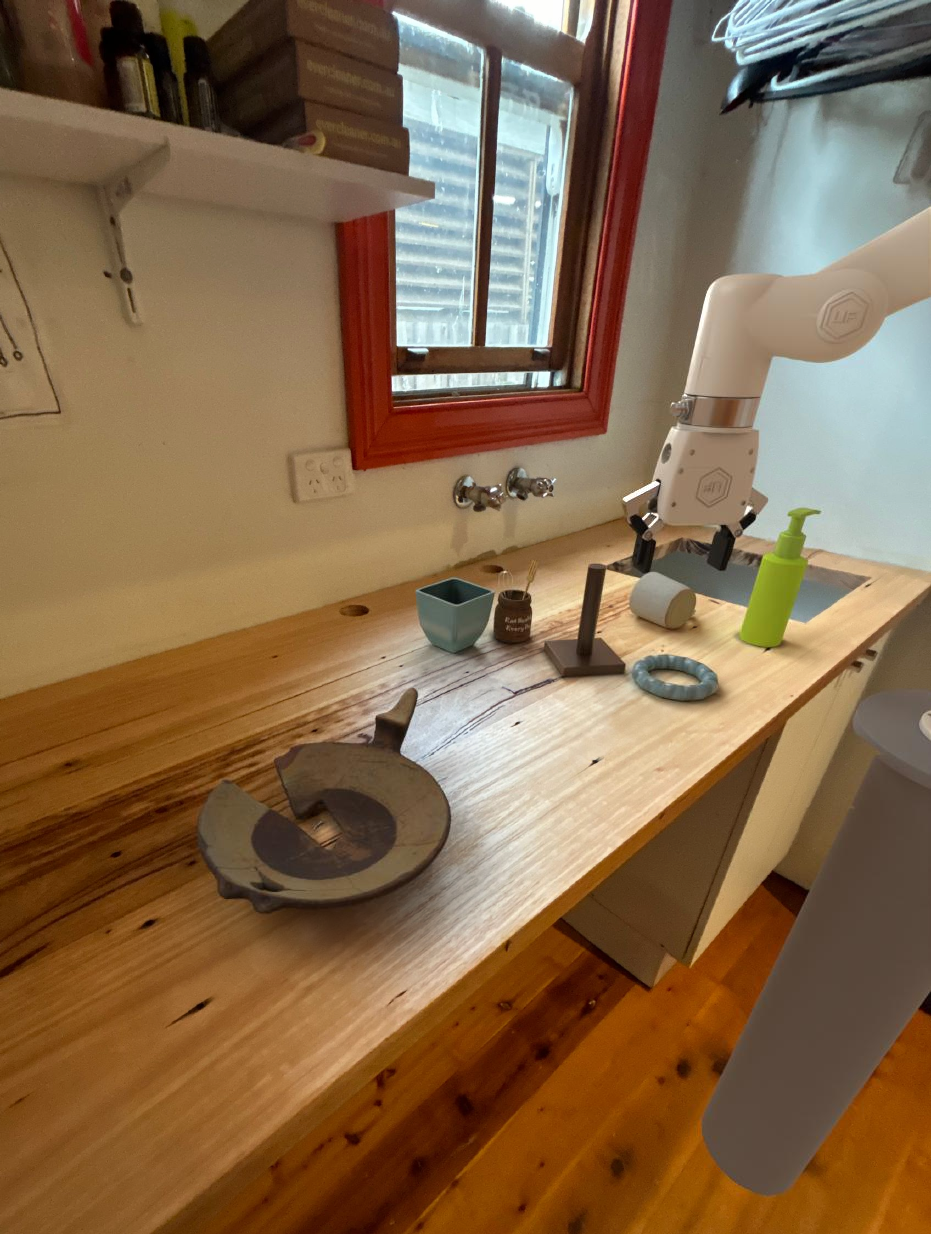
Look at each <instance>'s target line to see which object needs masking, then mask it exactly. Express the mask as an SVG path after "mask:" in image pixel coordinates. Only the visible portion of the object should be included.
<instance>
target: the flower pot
mask: <svg viewBox="0 0 931 1234" xmlns="http://www.w3.org/2000/svg"><path fill="white" fill-rule="evenodd" d="M495 594H496V591H495V590H493V589H490V588H488V587H484V586H481V585H479V584H476V583H473V582H470V581H468V580H464V579H461V578H458V577H450V578H446V579H445V580H444V579H443V580H441V581H438V582H436V583H435V582H434V583H433V584H429V585H426V586H423V587H420V588H417V589H415V600H416V601H415V602H416V609H417V616H418V621H419V624H420V627H421V630H422V632H423V634H424V635H425V637H426V638H427V640H428V642H429V643H430V644H432V645H434V646H436V647H438V648H441V649H443V650H444V651H447V652H449V653H452V654H456V653H458V652H459V651H462V650H464V649H467V648H469V647H471V646H474V645H475V644H476V643H477V642H478V640H479V639H480V638H481V636H482V635H483V633H484V632H485V630H486V628H487V626H488V623H489V620H490V617H491V613H492V608H493V605H494V604H493V603H494V599H495Z"/></svg>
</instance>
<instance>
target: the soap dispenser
mask: <svg viewBox="0 0 931 1234" xmlns="http://www.w3.org/2000/svg"><path fill="white" fill-rule="evenodd" d="M821 513H822V511H821V510H818V509H813V508H809V507H798V508H795V509H792V510H790V511H788V512H787V517H790V522H789V524H788V528H787V529H786V530H784V531H781V532H779V535H778V538H777V541H776V545H775V548H774V551H773V552H766V553H764V554H763V555H762V558H761V562H760V565H759V567H758V572H757V575H756V578H755V580H754V585H753V588H752V591H751V595H750V597H749V601H748V604H747V608H746V611H745V614H744V618H743V620H742V625H741V628H740V631H739V634H738V636H739V638H740V640H742V641H743V642H745V643H747V644H750V645H753V646H757V647H763V648H775V647H778V646H780V645H781V643H782V641H783V638H784V634H785V632H786V629H787V626H788V623H789V620H790V618H791V614H792V611H793V608H794V605H795V603H796V599H797V597H798V594H799V590H800V587H801V584H802V582H803V579H804V576H805V574H806V570H807V567H808V564H809V559H808V558H806V557H804V556H801V554H802V551H803V548H804V546H805V543H806V538H807V535H806V534H804V532H802V530H803V527H804V524H805V521H806V518H807V517H809V516H812V515H820V514H821Z"/></svg>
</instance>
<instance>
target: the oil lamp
mask: <svg viewBox="0 0 931 1234" xmlns="http://www.w3.org/2000/svg"><path fill="white" fill-rule="evenodd" d="M401 695H402V696H401V697H400V698H399V700H398V701H397V703H396V704H395V705H394V706H393V707H392V708H391V709H390V710H388V711H386V712H381V713H378V714H376V715H375V718H374V721H375V727H374V731H373V734H374V735H373V738H372V740H371V741H370V742H365V741H363V742H342V741H321V742H308V743H305V742H304V743H300V744H298V745H293V746H291V747H290V748H289V750H288V751H287V752H286V753H284V754H283V755H278V756H277V757H275V758H274V759H273V764H274V766H275V769H276V770H275V771H276V773H277V775H278V777H279V781H280V782H281V786H282V789H283V790H284V795H285V796H286V797H287V800H288V803H289V808H290V809H291V811H292V814H293V816H294V817H295V820H297V821H298V820H302V819H304V818H306V817H307V816H310V815H311V814H312V813H313V812H315V811H316V810H317V809H318V808H319V805H322V804H323V805H324V806H325V808H326V810H327V812H328V814H330V817H331V818H332V820H333V821H334V822H335V823H336V824H337V825H338V826H339V827H340V829H341V830H342V832H341V833H340V835H339V836H338V838H337V839H336V841H335V844H334V845H333V847H332V848H331V849H326V848H325V847H323V846H322V845H321V844H320V843H319V842H318V840H317V839H314V838H313V837H312V836H311V835H309V833H307V832H306V830H304V829H302V827H300V826H299V825H298V824H296V823H295V822H294V821H292V820H290V819H289V817H286V816H284V815H283V814H282V813H280V812H278V811H276V810H274V809H273V808H271V807H269V806H267V805H266V804H265V803H263V802H260V801H258V800H256V799H255V798H254V797H253V796H252V795H251V794H250V793H248V792H246V791H244V790H243V789H242V788H241V787H240V786H238V784H236V783H235V782H234V781H233V780H230V779H222V780H221V782H220V783H219V784H218V785H217V786H216V787H215V788H213V789H212V790H211V792H210V793H208V795H207V797H206V799H205V801H204V803H203V805H202V808H201V809H200V812H199V814H198V816H197V817H198V818H197V826H196V835H197V838H196V839H197V844H198V848H199V851H200V854H201V857H202V860H203V862H204V863H205V865H206V867H207V869H208V870H209V871H210V872H211V874H212V875H213V876H214V878H215V880H216V882H217V887H216V888H217V894H218V895H219V896H220V897H221V898H222V899H225V900H241V899H243V900H247V901H249V902H250V903H251V905H252V907H253V910H255V912H256V913H258V914H261V915H268V914H272V913H275V912H278V911H280V910H283V909H290V910H291V909H294V910H304V911H310V910H311V911H318V910H320V911H321V910H332V909H333V910H334V909H340V908H341V909H342V908H347V907H351V906H357V905H360V904H361V905H362V904H364V903H368V902H371V901H373V900H377V899H379V898H381V897H384V896H386V895H390V894H391V893H393V892H395V891H397V890H399V889H401V888H403V887H404V886H406V885H408V884H409V883H411V882H412V881H414V880H415V879H417V878H418V877H420V876H421V875H422V874H423V873H424V872H425V871H426V870H428V869H429V867H430V866H431V865H432V864H433V863H434V862H435V860H436V859H437V858H438V856H439V855H440V854H441V852H442V850H443V849H444V847H445V845H446V843H447V840H448V838H449V835H450V832H451V826H452V810H451V806H450V802H449V800H448V797H447V795H446V793H445V790H444V789H442V786H441V785H440V783H439V782H438V781H437V779H436V778H435V777H434V776H433V774H431V773H430V772H429V771H428V770H427V769H425V767H423V766H421V764H419V763H417V762H416V761H415V760H412V759H410V758H409V757H406V756H405V755H403V754H402V752H401V749H402V745H403V743H404V741H405V739H406V736H407V733H408V730H409V728H410V725H411V721H412V719H413V716H414V714H415V709H416V706H417V703H418V699H419V692H418V690H417V688H415V687H410V688H408V689H406V690H405V691H404V693H402V694H401ZM324 822H325V820H319V822H318V823H317V824H316V825H315V826H314V828H313V831H315V830H316V828H317V827H318V826H319V825H321V824H322V823H324Z"/></svg>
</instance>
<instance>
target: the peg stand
mask: <svg viewBox="0 0 931 1234" xmlns="http://www.w3.org/2000/svg"><path fill="white" fill-rule="evenodd" d="M586 571H587V572H586V578H585V586H584V591H583V599H582V604H581V605H582V606H581V610H580V611H581V612H580V618H579V625H578V631H577V638H572V639H554V640H553V639H552V640H544V643H543V644H544V645H543V651H544V652H545V653H546V655H547V656H548V658H549V659H550V661H551V662H552V663H553V665H554V666H555V668H556V669H557V671H558V672H559V674H560V675H561V676H562V677H563V678H568V677H569V678H570V677H571V678H572V677H583V676H584V677H586V676H601V675H619V674H625V669H626V662H624V661H623V660H622V658H621V657H620V656H619V655H618V653H616V652H615V651H614V650H613V648H611V647H610V645H609V644H608V643H607V642H606V641H605V640H604V639H603V638H602V637H596V632H597V628H598V627H597V626H598V620H599V615H600V608H601V602H602V598H603V590H604V585H605V579H606V572H607V566H606V565H605V564H603V563H595V562H594V563H589V564H588V565H587V570H586Z"/></svg>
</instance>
